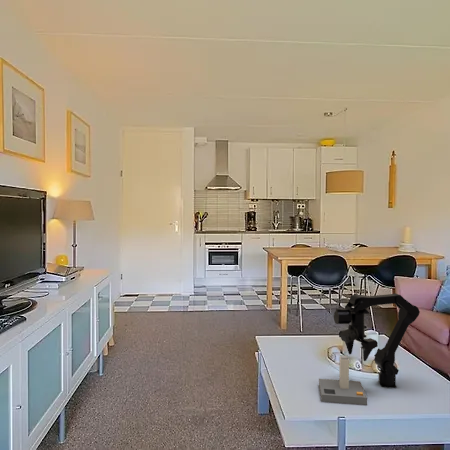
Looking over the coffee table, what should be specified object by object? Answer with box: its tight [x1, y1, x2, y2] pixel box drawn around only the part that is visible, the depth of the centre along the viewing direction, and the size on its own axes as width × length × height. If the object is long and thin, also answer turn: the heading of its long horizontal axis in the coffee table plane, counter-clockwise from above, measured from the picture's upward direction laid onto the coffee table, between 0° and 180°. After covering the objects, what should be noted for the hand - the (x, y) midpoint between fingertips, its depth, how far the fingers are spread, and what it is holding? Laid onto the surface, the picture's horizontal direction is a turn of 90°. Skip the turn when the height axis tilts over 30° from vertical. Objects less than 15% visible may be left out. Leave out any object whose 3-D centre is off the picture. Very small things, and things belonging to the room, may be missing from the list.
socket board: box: [318, 378, 368, 406], centre depth 171 cm, size 18×16×4 cm
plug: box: [338, 354, 350, 389], centre depth 171 cm, size 3×3×13 cm
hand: (357, 357), depth 179 cm, fingers open, 9 cm apart
